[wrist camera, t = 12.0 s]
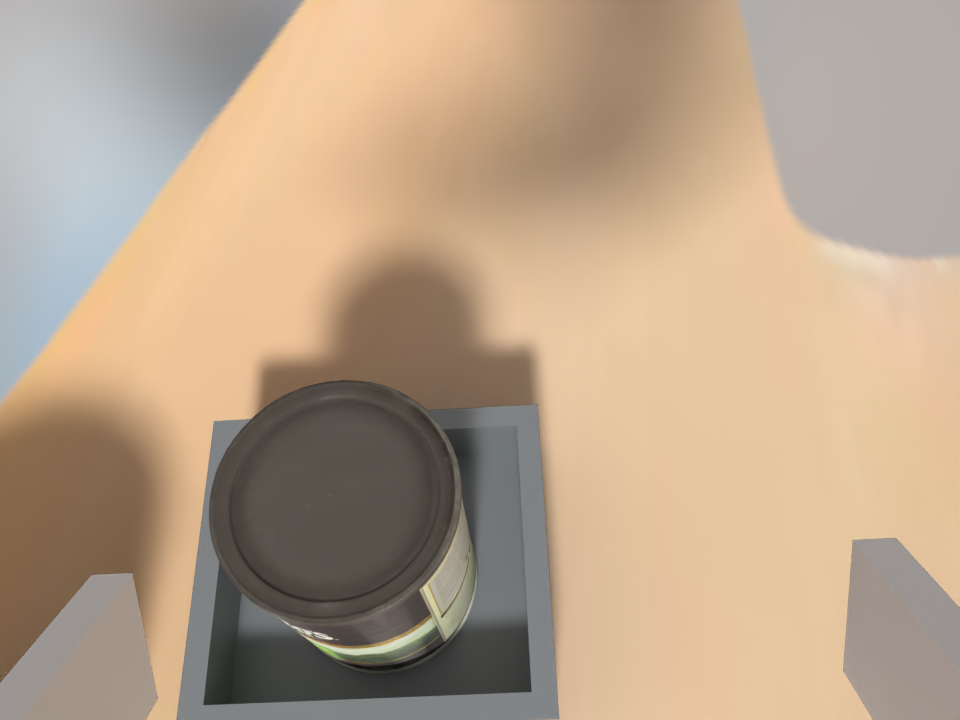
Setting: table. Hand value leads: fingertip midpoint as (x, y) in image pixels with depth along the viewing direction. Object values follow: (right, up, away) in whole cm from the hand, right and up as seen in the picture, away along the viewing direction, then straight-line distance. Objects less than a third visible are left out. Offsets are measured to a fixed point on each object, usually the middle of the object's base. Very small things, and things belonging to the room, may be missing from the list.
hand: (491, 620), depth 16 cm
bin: (-5, -8, +34) cm, 35 cm away
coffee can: (-5, -7, +31) cm, 33 cm away
